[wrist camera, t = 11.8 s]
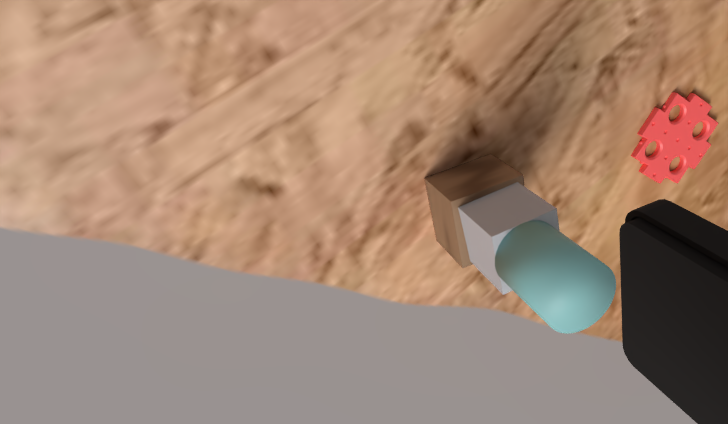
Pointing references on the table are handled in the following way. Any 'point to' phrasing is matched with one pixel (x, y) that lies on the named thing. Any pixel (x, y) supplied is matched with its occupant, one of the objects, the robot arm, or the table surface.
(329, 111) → the table surface
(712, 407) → the robot arm
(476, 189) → the walnut base block
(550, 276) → the teal cylinder
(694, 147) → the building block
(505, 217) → the grey top block
